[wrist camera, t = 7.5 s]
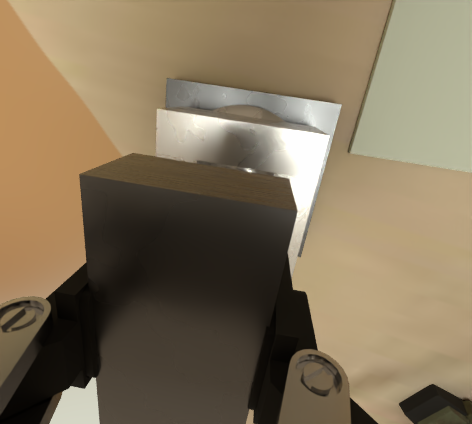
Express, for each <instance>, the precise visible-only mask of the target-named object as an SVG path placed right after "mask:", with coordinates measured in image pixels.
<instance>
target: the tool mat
mask: <svg viewBox="0 0 472 424" xmlns="http://www.w3.org/2000/svg"><path fill="white" fill-rule="evenodd" d="M348 152H349V153H351V154H357V155H363V156H369V157H376V158H382V159H388V160H395V161H401V162H407V163H414V164H420V165H426V166H432V167H439V168H445V169H451V170H458V171H464V172H470V173H472V0H393V2H392V6H391V9H390V13H389V16H388V19H387V23H386V26H385V29H384V33H383V36H382V40H381V43H380V46H379V50H378V53H377V56H376V60H375V63H374V66H373V70H372V73H371V77H370V80H369V83H368V87H367V90H366V93H365V97H364V100H363V104H362V107H361V110H360V114H359V117H358V120H357V124H356V127H355V130H354V134H353V137H352V141H351V144H350V147H349V151H348Z"/></svg>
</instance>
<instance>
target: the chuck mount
mask: <svg viewBox="0 0 472 424" xmlns="http://www.w3.org/2000/svg"><path fill="white" fill-rule="evenodd" d="M231 105H249V106H254V107H259V108H262V109H265V110H267V111H270V112H272V113H273V114H275V115H277V116H279V117H280V118H281V119H283V120H284V121H285V122H288V123H294V124H301V125H307V126H314V127H316V128H318V129H320V130H321V131H323V132H324V133H326V134H328V135H329V139H328V143H327V147H326V151H325V154H324V158H323V162H322V166H321V169H320V173H319V177H318V181H317V185H316V188H315V192H314V196H313V200H312V203H311V207H310V211H309V215H308V219H307V222H306V226H305V230H304V234H303V238H302V241H301V245H300V249H299V253H298V257H301V254H302V250H303V246H304V243H305V239H306V235H307V232H308V228H309V224H310V221H311V217H312V213H313V209H314V206H315V202H316V198H317V195H318V191H319V187H320V184H321V180H322V176H323V172H324V169H325V165H326V161H327V158H328V154H329V150H330V146H331V143H332V139H333V135H334V132H335V128H336V124H337V121H338V117H339V113H340V109H341V106H342V104H336V103H329V102H322V101H316V100H309V99H302V98H296V97H289V96H282V95H276V94H269V93H263V92H256V91H249V90H243V89H236V88H229V87H223V86H216V85H209V84H203V83H196V82H189V81H183V80H176V79H170V78H167V85H166V108H169V107H179V106H185V107H191V108H197V109H204V110H210V111H212V110H215V109H218V108H221V107H226V106H231Z"/></svg>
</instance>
